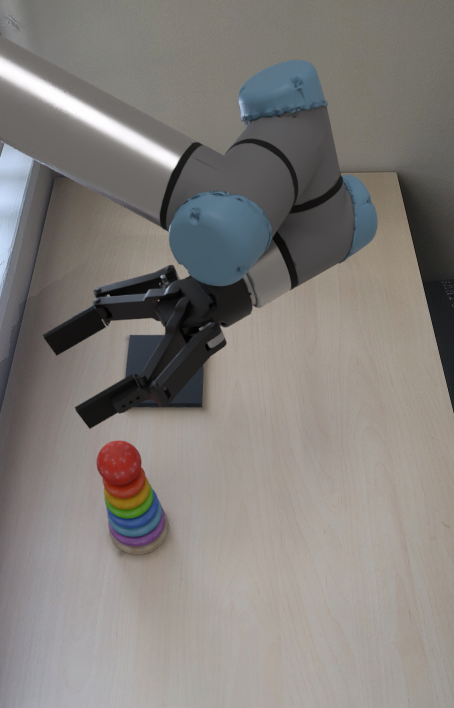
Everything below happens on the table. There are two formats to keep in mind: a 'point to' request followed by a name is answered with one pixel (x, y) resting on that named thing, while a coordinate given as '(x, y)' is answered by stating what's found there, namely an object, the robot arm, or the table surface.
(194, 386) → the mat
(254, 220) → the robot arm
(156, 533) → the stacking toy
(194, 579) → the table surface
